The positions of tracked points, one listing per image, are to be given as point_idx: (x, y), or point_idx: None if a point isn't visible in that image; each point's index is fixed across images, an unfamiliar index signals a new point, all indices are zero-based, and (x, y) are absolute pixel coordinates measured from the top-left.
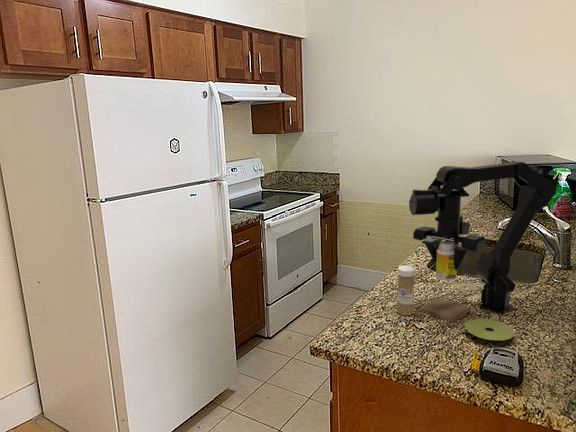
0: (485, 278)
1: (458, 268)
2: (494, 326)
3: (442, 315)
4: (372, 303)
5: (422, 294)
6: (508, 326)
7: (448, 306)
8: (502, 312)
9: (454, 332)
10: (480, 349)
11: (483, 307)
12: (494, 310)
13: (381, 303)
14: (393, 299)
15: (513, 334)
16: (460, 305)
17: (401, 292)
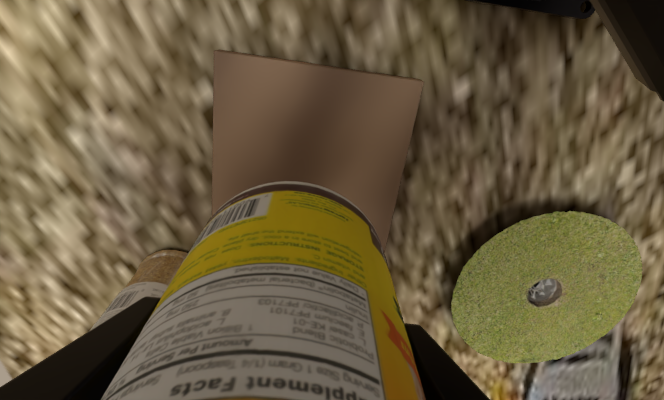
0: (629, 59)
1: (424, 336)
2: (564, 262)
3: None
4: (3, 276)
5: (91, 6)
6: (622, 232)
7: (318, 146)
8: (588, 15)
9: (410, 316)
10: (511, 365)
11: (480, 2)
12: (544, 13)
13: (30, 254)
14: (30, 181)
15: (636, 287)
16: (368, 92)
17: None
